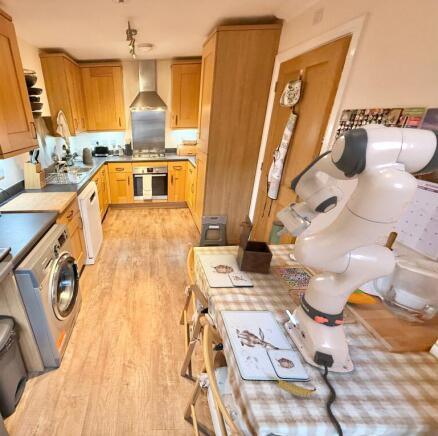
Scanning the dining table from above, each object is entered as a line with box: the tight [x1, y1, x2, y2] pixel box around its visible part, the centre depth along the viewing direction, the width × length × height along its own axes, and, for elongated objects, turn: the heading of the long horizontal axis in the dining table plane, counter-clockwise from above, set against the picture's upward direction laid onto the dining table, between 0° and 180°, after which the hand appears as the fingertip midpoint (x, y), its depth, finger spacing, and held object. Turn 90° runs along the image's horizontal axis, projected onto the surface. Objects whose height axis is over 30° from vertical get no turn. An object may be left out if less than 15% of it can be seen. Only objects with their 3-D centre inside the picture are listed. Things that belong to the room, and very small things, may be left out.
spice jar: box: [268, 220, 285, 245], centre depth 111 cm, size 5×5×10 cm
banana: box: [276, 379, 317, 398], centre depth 67 cm, size 10×2×4 cm, turn 77°
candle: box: [289, 223, 312, 262], centre depth 125 cm, size 7×7×25 cm
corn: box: [345, 289, 378, 306], centre depth 99 cm, size 7×8×20 cm
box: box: [236, 239, 273, 275], centre depth 123 cm, size 14×13×12 cm
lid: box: [238, 214, 254, 251], centre depth 119 cm, size 14×13×5 cm
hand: (275, 231), depth 111 cm, fingers closed on spice jar, 5 cm apart
